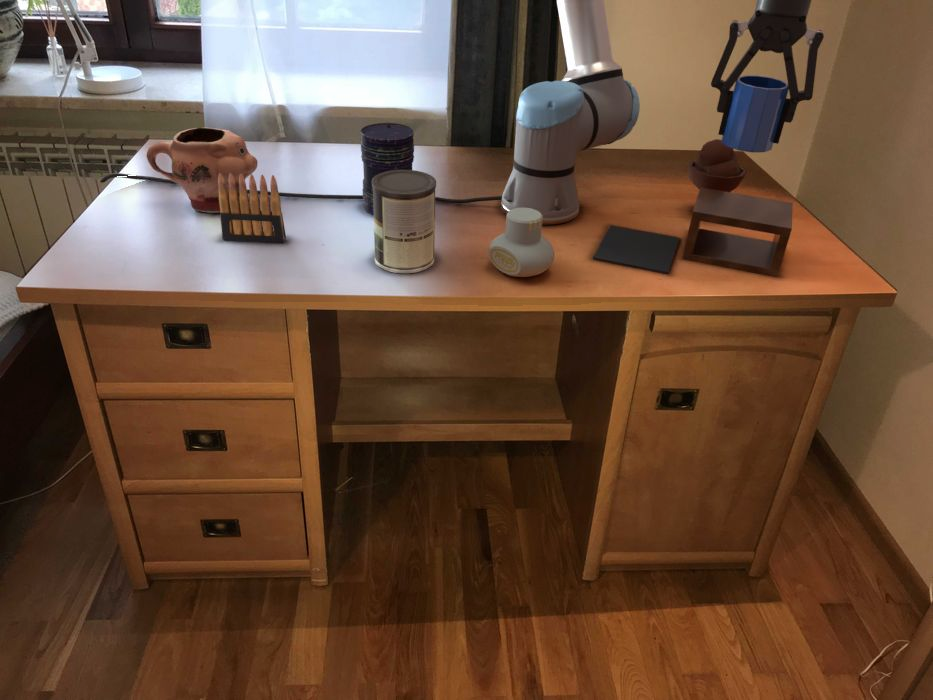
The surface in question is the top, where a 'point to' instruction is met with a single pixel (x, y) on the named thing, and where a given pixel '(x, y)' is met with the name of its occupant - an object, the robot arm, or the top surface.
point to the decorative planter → (204, 163)
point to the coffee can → (404, 220)
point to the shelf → (734, 247)
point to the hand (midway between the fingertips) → (748, 136)
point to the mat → (637, 249)
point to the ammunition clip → (250, 211)
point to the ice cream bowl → (716, 168)
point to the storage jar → (384, 153)
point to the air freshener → (522, 245)
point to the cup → (754, 113)
